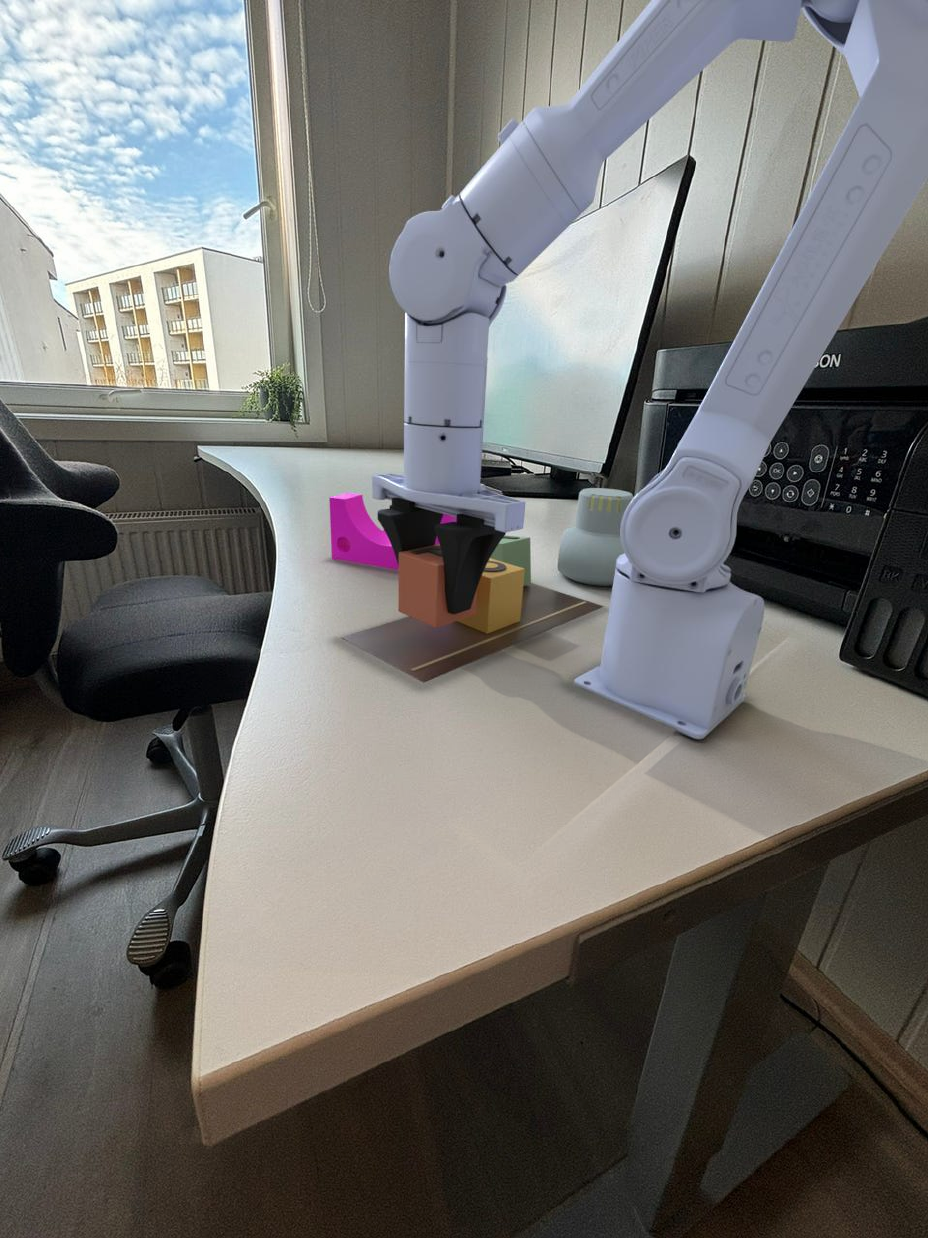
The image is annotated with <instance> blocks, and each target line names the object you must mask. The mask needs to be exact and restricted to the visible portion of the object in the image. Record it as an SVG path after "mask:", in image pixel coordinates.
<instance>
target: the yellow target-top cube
mask: <svg viewBox="0 0 928 1238" xmlns="http://www.w3.org/2000/svg"><path fill="white" fill-rule="evenodd" d="M524 573H525V569H524V568H521V567H518V566H514V565H511V564H508V563H504V562H501V561H498V560H494V559H491V558H490V559H489V561H488V563H487V565H486V567H485V569H484V571H483V574H482V576H481V579H480V581H479V584H478V587H477V596H476V613H475V615H472V616H470V617H467V618H464V619H461V620H458V622H460V623H462V624H465V625H467V626H469V627H472V628H474V629H477V630H479V631H481V632H484V633H486V634H488V633H491V632H493V631H496V630H499V629H501V628H504V627H506V626H509V625H512V624H514V623H517V622H519V621H520V616H521V605H522V595H523V584H524Z"/></svg>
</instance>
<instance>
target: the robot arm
mask: <svg viewBox="0 0 928 1238" xmlns="http://www.w3.org/2000/svg"><path fill="white" fill-rule="evenodd" d="M801 11H802V14H803V15H804V16H805V18H806V19H807V20H808V22H809V23H810V25H812V26H813V28H814V29H815V31H817V32H818V33H819V34H820V35H821V36H822V37H823V38H824V39H825V40H826V41H828V42H829V43H830V44H831V45H832V46H833V47H834V48H835V49H836V50H837V51H838V52H839V53H840V54H841V55H843V56H844V57H845V60H846V63H847V66H848V68H849V72H850V74H851V77H852V80H853V82H854V86H855V89H856V91H857V94H858V96H859V100H858V101H857V104H856V106H855V108H854V109H853V112H852V113H851V115H850V117H849V119H848V121H847V123H846V125H845V127H844V128H843V131H842V132H841V134H840V136H839V138H838V140H837V142H836V144H835V146H834V148H833V149H832V151H831V153H830V156H829V157H828V160H827V161H826V163H825V165H824V167H823V168H822V170H821V173H820V175H819V176H818V178H817V181H816V182H815V185H814V186H813V188H812V190H811V192H810V194H809V196H808V198H807V200H806V202H805V203H804V206H803V207H802V209H801V211H800V213H799V216H798V217H797V219H796V221H795V223H794V225H793V227H792V228H791V230H790V232H789V234H788V236H787V238H786V240H785V242H784V244H783V245H782V248H781V250H780V251H779V253H778V255H777V257H776V259H775V261H774V263H773V264H772V267H771V269H770V271H769V273H768V275H767V276H766V279H765V280H764V282H763V284H762V286H761V288H760V290H759V291H758V294H757V295H756V298H755V300H754V301H753V303H752V304H751V307H750V309H749V311H748V313H747V315H746V317H745V319H744V320H743V323H742V325H741V327H740V329H738V333H737V334H736V336H735V338H734V340H733V342H732V344H731V346H730V348H729V349H728V351H727V353H726V355H725V356H724V357H725V358H724V359H723V360H722V363H721V365H720V366H719V369H718V370H717V373H716V375H715V376H714V378H713V380H712V382H711V384H710V386H709V388H708V390H707V392H706V394H705V396H704V398H703V400H702V401H701V403H700V405H699V407H698V409H697V411H696V413H695V414H694V417H693V418H692V420H691V422H690V423H689V425H688V427H687V429H686V430H685V432H684V434H683V436H682V437H681V439H680V441H679V443H678V444H677V446H676V448H675V450H674V452H673V454H672V456H671V457H670V460H669V462H668V463H667V464H666V467H665V468H664V469H663V470H661V471H660V472H659V473H657V474H656V475H655V476H654V477H653V478H652V479H651V480H650V481H649V482H648V483H647V485H646V486H644V487H643V489H641V490H640V491H638V493H636V495H634V496H633V497H634V498H633V499H632V500H631V502H630V503H629V505H628V506H627V508H626V510H625V512H624V515H623V518H622V522H621V529H620V536H621V543H622V547H623V550H624V552H625V553H624V554H622V555H620V556H619V557H618V558H617V561H616V569H615V575H614V582H613V585H612V588H611V595H610V601H609V606H608V607H609V609H608V615H607V622H606V626H605V627H606V628H605V633H604V641H603V646H602V647H603V648H602V653H601V659H600V664H599V665H597V666H596V667H594V668H592V669H590V670H588V671H587V672H585V673H583V674H581V675H579V676H577V677H576V678H574V681H573V684H574V685H575V686H577V687H579V688H581V689H584V690H586V691H587V692H590V693H593V694H595V695H597V696H600V697H602V698H605V699H607V700H608V701H611V702H614V703H616V704H618V705H620V706H623V707H625V708H627V709H629V710H632V711H634V712H637V713H638V714H641V715H643V716H645V717H647V718H650V719H652V720H655V721H657V722H659V723H662V724H664V725H666V726H668V727H671V728H673V729H676V730H675V731H676V732H678V733H681V734H682V735H685V736H687V737H690V738H691V739H695V740H702V739H705V738H706V737H707V736H708V735H709V734H710V733H711V732H712V731H713V730H714V729H715V728H716V727H717V726H718V725H719V724H721V723H722V722H723V721H724V720H725V719H727V717H728V716H729V715H730V714H731V713H732V712H733V711H734V710H736V709H737V708H738V707H739V706H740V705H741V704H742V703H743V702H744V701H745V700H746V693H745V690H746V686H747V683H748V679H749V676H750V671H751V667H752V663H753V660H754V656H755V653H756V649H757V646H758V642H759V639H760V638H759V637H760V634H761V630H762V626H763V621H764V615H765V601H764V598H763V597H761V596H760V595H758V594H755V593H752V592H749V591H746V590H744V589H742V588H739V587H738V586H736V585H735V584H733V583H732V582H731V578H732V573H731V571H732V569H731V568H730V567H729V566H728V565H725V564H724V562H726V560H727V558H728V557H729V556H730V554H731V552H732V550H733V548H734V545H735V541H736V537H737V521H738V512H739V508H740V504H741V502H742V501H743V499H744V496H745V495H746V493H747V491H748V490H749V488H750V486H751V485H752V482H753V481H754V479H755V477H756V475H757V473H758V471H759V468H760V466H761V464H762V461H763V460H764V457H765V455H766V452H767V450H768V449H769V446H770V444H771V442H772V440H773V439H774V438H775V435H776V434H777V432H778V430H779V429H780V427H781V425H782V424H783V422H784V420H785V418H786V417H787V416H788V413H789V412H790V410H791V408H792V407H793V405H794V403H795V401H796V400H797V399H798V396H799V395H800V393H801V392H802V390H803V388H804V386H805V385H806V383H807V382H808V380H809V378H810V377H811V375H812V374H813V372H814V370H815V368H816V367H817V365H818V363H819V362H820V360H821V358H822V356H823V355H824V353H825V351H826V350H827V348H828V346H829V344H830V343H831V341H832V340H833V338H834V336H835V335H836V333H837V331H838V329H839V328H840V326H841V325H842V323H843V321H844V320H845V318H846V316H847V315H848V313H849V311H850V310H851V308H852V306H853V305H854V303H855V301H856V300H857V297H858V296H859V295H860V293H861V291H862V289H863V288H864V287H865V284H866V283H867V282H868V279H869V278H870V276H871V274H872V272H873V271H874V270H875V267H876V266H877V264H878V262H879V261H880V259H881V258H882V256H883V254H884V252H885V251H886V249H887V248H888V246H889V244H890V242H891V241H892V239H893V237H894V236H895V234H896V232H897V231H898V230H899V227H900V225H901V224H902V222H903V220H904V219H905V217H906V215H907V214H908V212H909V210H910V209H911V207H912V206H913V204H914V202H915V200H916V198H917V197H918V195H919V193H920V192H921V191H922V189H923V187H924V186H925V183H926V182H927V180H928V0H650V2H649V3H648V4H647V5H646V6H645V7H644V9H643V10H642V11H641V13H639V15H638V16H637V17H636V19H635V20H634V21H633V23H631V25H630V26H629V27H628V28H627V30H626V31H625V32H624V34H622V36H621V37H620V39H619V40H618V41H617V42H616V43H615V45H614V46H613V47H612V48H611V50H610V51H609V52H608V53H607V55H606V56H605V57H604V59H602V61H601V62H600V63H599V65H598V66H597V67H596V68H595V69H594V71H593V72H592V73H591V74H590V76H588V78H587V79H586V80H585V82H584V83H583V84H582V86H581V87H580V88H579V89H578V91H577V92H576V93H575V95H573V97H572V98H571V99H570V100H569V102H568V103H565V104H561V105H560V104H559V105H547V106H537V107H533V108H532V109H531V110H530V111H529V112H528V114H527V115H526V116H525V117H524V118H523V119H522V121H520V122H519V121H517V119H516V118H514V117H512V118H511V119H510V120H509V121H508V123H507V124H505V126H504V127H503V128H502V130H501V131H500V132H498V135H497V139H498V141H499V143H500V146H499V147H498V148H497V149H496V151H494V153H493V154H492V155H491V156H490V157H489V159H488V160H487V161H486V162H485V164H483V166H482V167H481V168H480V169H479V170H478V171H477V172H476V174H475V175H474V176H473V177H472V178H471V179H470V181H469V182H468V183H467V184H466V185H465V186H464V188H463V189H461V190H460V193H459V194H457V196H454V195H453V194H451V195H450V196H449V197H448V199H447V200H445V202H444V203H443V204H442V206H441V209H440V210H427V211H422V212H420V213H418V214H416V215H414V216H412V217H410V219H408V220H407V221H406V223H405V224H404V228H403V229H402V232H401V233H400V234H399V235H398V236H397V239H396V241H395V243H394V245H393V247H392V251H391V253H390V259H389V269H388V275H389V283H390V288H391V291H392V294H393V297H394V299H395V301H396V302H397V304H398V305H399V307H400V308H401V309H402V310H403V311H404V312H405V314H404V316H405V317H404V318H405V320H404V321H405V323H404V398H403V400H404V401H403V402H404V404H403V407H404V408H403V410H404V411H403V426H404V427H403V474H402V475H401V474H396V473H378V474H372V475H371V481H372V482H371V483H372V484H371V486H372V487H371V488H372V489H371V490H372V494H371V495H372V497H371V498H372V499H375V500H379V501H384V500H388V501H391V504H389V508H383V509H378V510H377V520H378V522H379V524H380V525H381V527H382V529H383V530H385V532H386V534H387V536H388V538H389V541H390V543H391V545H392V548H393V550H394V553H395V556H396V560H397V563H398V567H399V552H403V551H408V550H413V549H418V548H423V547H428V546H433V545H435V541H436V537H437V538H438V541H439V544H440V548H441V552H442V557H443V562H444V570H445V596H446V605H447V610H448V613H451V614H457V613H460V612H463V611H466V610H470V609H471V606H472V603H473V599H474V596H475V593H476V590H477V587H478V584H479V581H480V579H481V576H482V574H483V571H484V569H485V567H486V565H487V563H488V561H489V559H490V557H491V555H492V554H493V552H494V550H495V549H496V547H497V545H498V544H499V542H500V541H501V540H502V538H503V537H504V536H505V535H507V534H506V533H509V532H515V531H520V530H523V529H524V524H525V513H526V512H525V511H526V501H525V500H520V499H516V498H512V497H509V496H506V495H503V494H502V493H501V494H500V493H498V492H495V491H492V490H489V489H487V488H486V485H485V484H484V483H481V478H482V477H481V476H482V474H481V473H482V460H483V458H482V457H483V445H484V444H483V442H484V424H485V410H486V409H485V408H486V395H487V392H486V391H487V375H488V360H489V358H488V349H489V336H490V335H489V333H490V326H491V324H492V323H493V321H494V320H495V319H496V318H497V316H498V315H499V313H500V311H501V309H502V307H503V305H504V303H505V299H506V294H507V284H509V283H512V282H514V281H515V280H516V279H517V278H518V277H519V276H520V275H521V274H522V273H523V272H524V271H525V270H526V269H527V268H528V267H529V266H530V265H531V264H532V263H533V262H534V261H535V260H536V259H538V257H540V256H541V254H542V253H544V251H545V250H547V248H548V247H550V246H551V244H553V243H554V242H555V240H557V239H558V238H559V237H560V236H561V235H562V234H563V232H565V231H566V230H567V229H568V228H569V227H570V226H571V225H572V224H573V223H574V222H575V221H576V220H577V219H578V218H579V217H580V216H581V215H582V213H584V212H585V211H587V209H588V208H589V207H591V205H592V204H593V203H594V201H595V197H596V191H597V186H598V182H599V177H600V172H601V169H602V166H603V163H604V162H605V161H606V160H607V159H609V157H610V156H611V155H612V154H613V153H614V152H615V151H617V150H618V149H619V148H621V146H622V145H623V144H624V143H625V142H626V141H628V139H630V138H631V137H632V136H633V135H634V134H635V133H637V132H638V131H639V130H640V128H641V127H643V126H644V125H645V124H646V123H647V122H648V121H649V120H650V119H651V118H652V117H654V116H655V114H657V113H658V112H659V111H660V110H661V109H663V107H664V106H665V105H666V104H667V103H669V102H670V101H671V100H672V99H673V98H674V97H675V96H676V95H677V94H678V93H680V92H681V90H683V89H684V88H685V87H686V86H688V84H690V82H691V81H693V80H694V79H695V78H696V77H697V76H698V75H699V74H700V73H701V72H702V71H703V70H704V69H705V68H707V66H709V65H710V64H711V63H712V62H713V61H715V59H716V58H718V57H719V55H720V54H722V53H723V52H724V51H725V50H726V49H727V48H729V46H730V45H731V44H733V43H734V42H736V41H738V40H742V39H743V40H754V41H768V42H778V43H786V42H787V43H788V42H791V41H794V40H795V39H796V35H797V30H798V23H799V18H800V13H801ZM443 514H446V515H450V516H454V517H457V521H456V522H449V523H443V524H440V523H441V520H442V517H443Z"/></svg>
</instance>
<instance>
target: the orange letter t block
mask: <svg viewBox="0 0 928 1238" xmlns="http://www.w3.org/2000/svg"><path fill="white" fill-rule="evenodd" d="M476 596H477V590H476V593H475V596H474V599H473V603H472V606H471V609H470V610H466V611H463V612H460V613H457V614H451V613H448V610H447V605H446V596H445V570H444V562H443V557H442V552H441V548H440V544H438V545H433V546H428V547H423V548H418V549H413V550H408V551H403V552H399V570H398V599H397V600H398V602H397V603H398V608H397V610H398V612H399V613H401V614H404V615H405V616H407V617H409V616H410V617H412V618H414V619H417V620H419V621H421V622H424V623H426V624H428V625H430V626H433V627H435V628H437V627H440V626H443V625H446V624H449V623H452V622H455V621H458V620H461V619H464V618H467V617H470V616H472V615H475V613H476Z"/></svg>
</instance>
